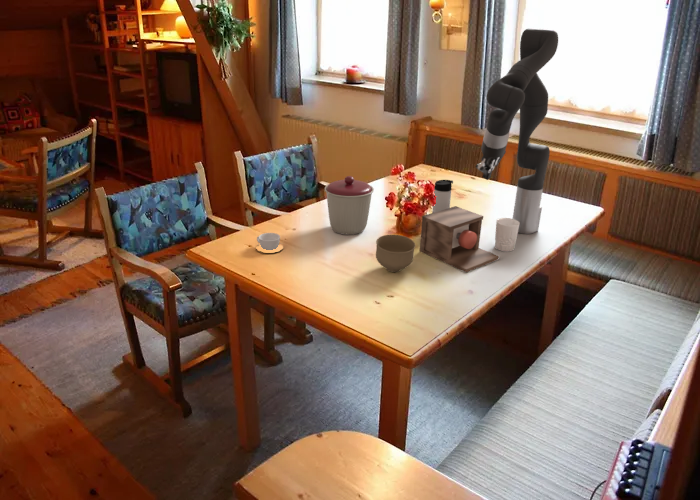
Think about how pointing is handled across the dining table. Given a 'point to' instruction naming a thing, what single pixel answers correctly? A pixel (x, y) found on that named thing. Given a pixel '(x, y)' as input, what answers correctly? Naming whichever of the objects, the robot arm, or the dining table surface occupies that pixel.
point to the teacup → (269, 240)
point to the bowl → (395, 252)
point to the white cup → (506, 234)
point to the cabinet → (440, 239)
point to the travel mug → (442, 195)
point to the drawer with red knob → (464, 237)
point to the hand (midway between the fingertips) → (486, 177)
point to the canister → (348, 205)
